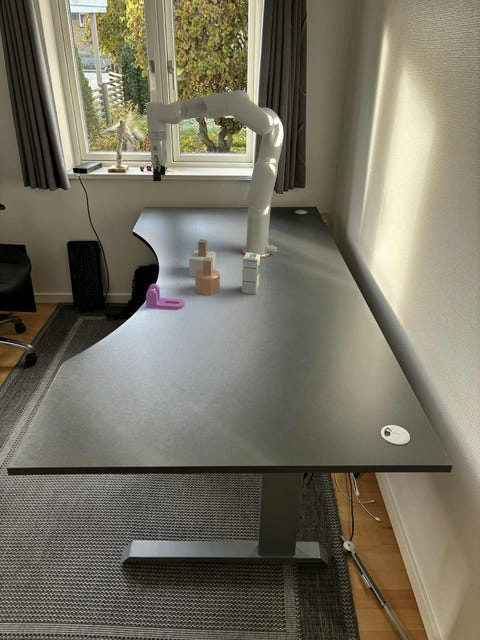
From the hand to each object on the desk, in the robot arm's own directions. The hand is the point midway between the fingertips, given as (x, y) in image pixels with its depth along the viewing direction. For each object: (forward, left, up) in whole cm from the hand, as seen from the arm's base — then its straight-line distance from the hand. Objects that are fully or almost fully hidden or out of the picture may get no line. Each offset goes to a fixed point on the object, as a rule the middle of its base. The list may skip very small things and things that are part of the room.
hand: (159, 178), depth 206 cm
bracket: (-17, +53, -31) cm, 64 cm away
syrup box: (-45, +35, -31) cm, 65 cm away
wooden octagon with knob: (-29, +38, -31) cm, 57 cm away
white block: (-24, +24, -31) cm, 46 cm away
